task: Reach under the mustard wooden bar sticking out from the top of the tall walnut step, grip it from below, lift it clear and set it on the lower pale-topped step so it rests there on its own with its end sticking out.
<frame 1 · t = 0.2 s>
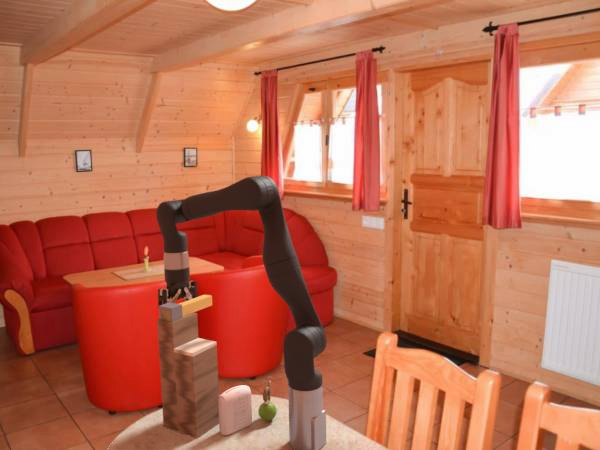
hand: (179, 317, 167), 29 cm above the table, tool pointing down, fingers open, 8 cm apart
bar: (188, 312, 161), point 32 cm above the table, touching step stand
pink rounded block: (236, 428, 157), on the table
step stand: (193, 425, 159), on the table
green bud vase: (268, 419, 162), on the table
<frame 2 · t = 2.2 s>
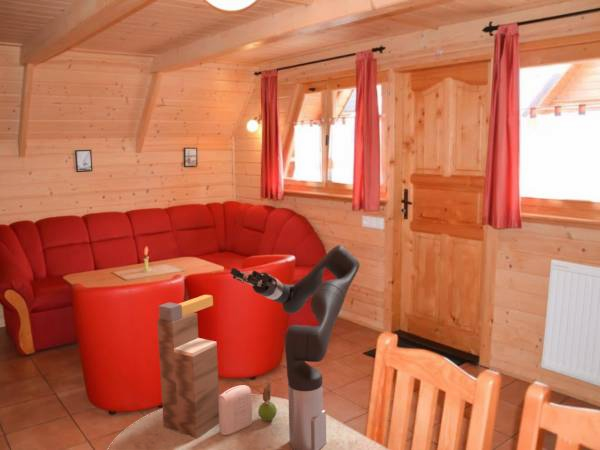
hand: (242, 272, 176), 40 cm above the table, tool pointing upward, fingers open, 8 cm apart
nothing on the table moved.
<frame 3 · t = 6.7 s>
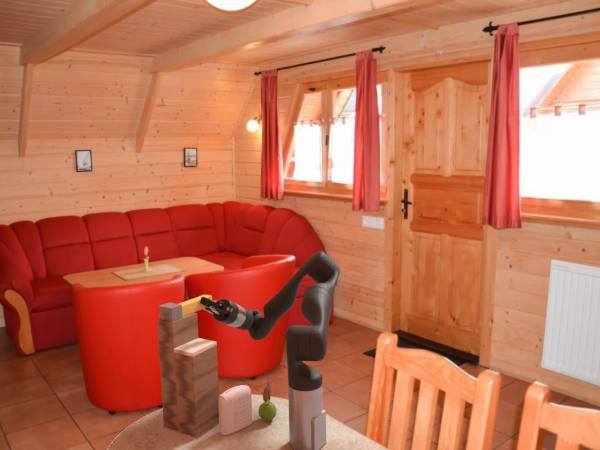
hand: (197, 299, 164), 35 cm above the table, tool pointing upward, fingers closed on bar, 3 cm apart
bar: (188, 312, 161), point 32 cm above the table, touching gripper, step stand
everything else where it was.
when the fingers open (29 cm above the table, at t = 11.6 s): bar drops 1 cm, resting on step stand.
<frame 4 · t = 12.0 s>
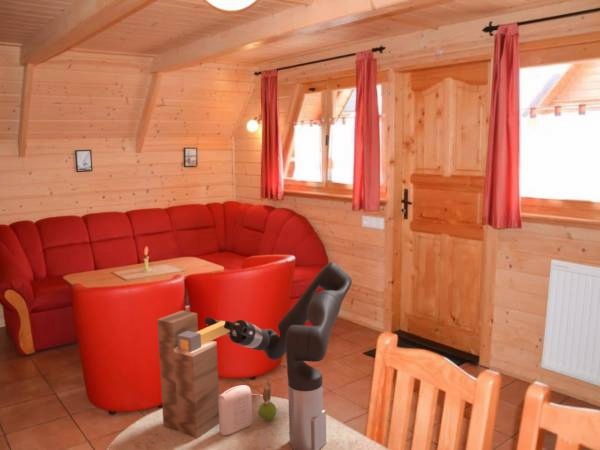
hand: (215, 322, 162), 29 cm above the table, tool pointing upward, fingers open, 7 cm apart
bar: (206, 340, 158), point 25 cm above the table, touching step stand
everything else where it was.
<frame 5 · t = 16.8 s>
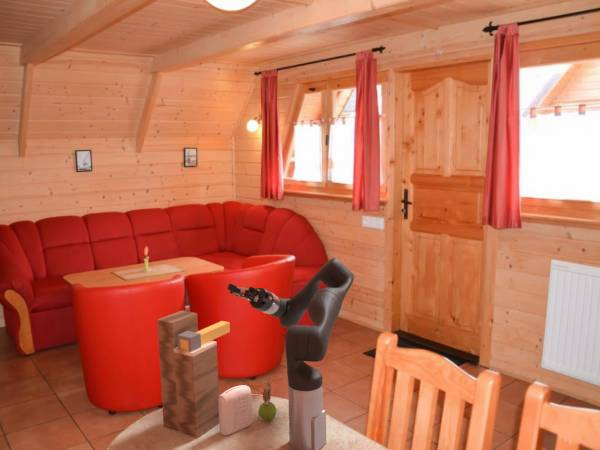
hand: (239, 288, 178), 35 cm above the table, tool pointing upward, fingers open, 8 cm apart
nothing on the table moved.
at the end: bar 0.1 cm from the target spot, point 25.0 cm above the table; the gripper is holding nothing; bar tilted 0° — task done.
